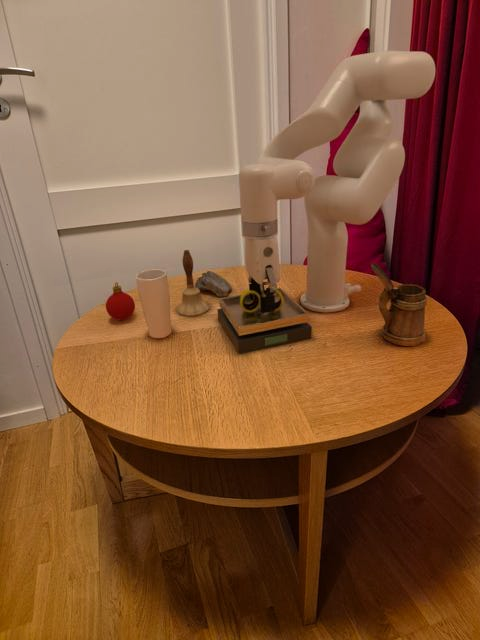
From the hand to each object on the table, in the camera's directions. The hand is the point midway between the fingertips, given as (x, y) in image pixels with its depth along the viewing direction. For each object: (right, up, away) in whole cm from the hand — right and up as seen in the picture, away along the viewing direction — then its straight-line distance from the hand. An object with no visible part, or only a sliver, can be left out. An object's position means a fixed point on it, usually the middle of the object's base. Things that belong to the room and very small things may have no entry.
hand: (261, 304), depth 93 cm
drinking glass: (-24, -7, +3) cm, 25 cm away
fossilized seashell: (-13, +5, +25) cm, 28 cm away
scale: (0, -6, +3) cm, 6 cm away
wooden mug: (+29, -8, -4) cm, 30 cm away
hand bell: (-17, -1, +14) cm, 22 cm away
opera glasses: (0, -1, +1) cm, 1 cm away
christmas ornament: (-35, -3, +11) cm, 37 cm away
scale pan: (0, -2, +1) cm, 2 cm away
